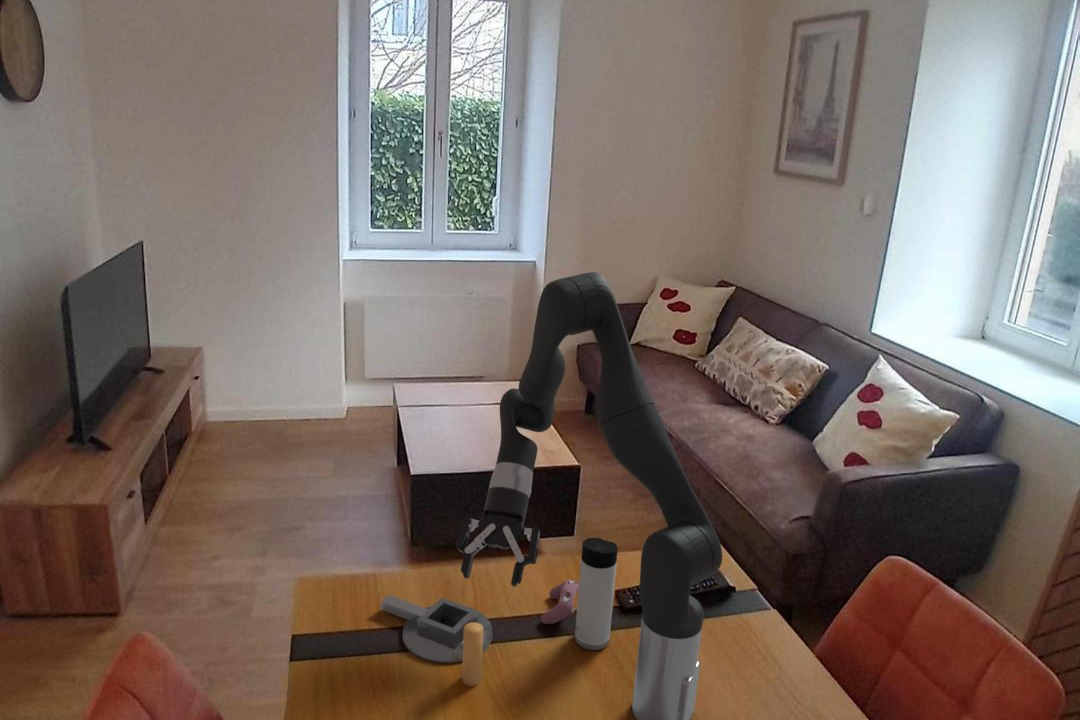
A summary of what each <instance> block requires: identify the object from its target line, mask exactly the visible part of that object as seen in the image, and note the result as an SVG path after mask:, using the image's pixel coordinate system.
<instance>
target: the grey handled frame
mask: <svg viewBox="0 0 1080 720" xmlns="http://www.w3.org/2000/svg"><path fill="white" fill-rule="evenodd" d="M380 610H382V611H384V612H387V613H389V614H392V615H395V616H398V617H399V618H402V619H404V620H406V621H405V623H404V624H403V628H402V641H403V644H404V646H405V648H406V650H408V651H409V652H410V653H411V654H412V655H414V656H415V657H417V658H419V659H422V660H424V661H427V662H431V663H436V664H455V663H463V634H464V626H465V625H466V624H468V623H472V622H475V623H479V624H481V625H482V626H483V651H482V653H483V652H484V651H486V649H488V647H489V646H490V644H491V642H492V639H493V627H492V622H490V620H489V619H488V617H487V616H486V615H484V613H482V612H481V611H479V610H478V609H475V608H473V607H470V606H467V605H464V604H462V603H461V604H460V603H457V602H456V601H453V600H450V599H447V598H444V597H441V598H440V599H439V600H438V601H436V602H435V603H434V604H432V605H431V606H427V607H422V606H421V605H417V604H415V603H412V602H410V601H407V600H404V599H401V598H399V597H396V596H394V595H391V594H388V595H387V596H386V597H384V598H383V599H382V600H381V601H380Z"/></svg>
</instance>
